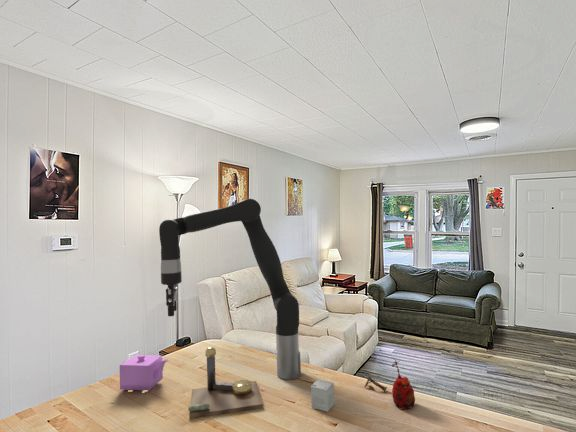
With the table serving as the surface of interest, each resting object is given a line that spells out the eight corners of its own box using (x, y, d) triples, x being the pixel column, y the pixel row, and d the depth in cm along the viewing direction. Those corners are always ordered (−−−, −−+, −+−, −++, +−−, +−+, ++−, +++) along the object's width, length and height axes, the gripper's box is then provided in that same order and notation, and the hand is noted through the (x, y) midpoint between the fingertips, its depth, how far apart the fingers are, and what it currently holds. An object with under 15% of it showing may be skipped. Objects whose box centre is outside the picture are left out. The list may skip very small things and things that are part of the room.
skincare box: (335, 403, 119) (334, 382, 119) (327, 412, 113) (326, 389, 113) (318, 399, 122) (318, 378, 122) (311, 408, 116) (310, 385, 117)
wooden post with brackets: (363, 384, 131) (367, 373, 130) (383, 396, 127) (387, 386, 126) (361, 386, 129) (366, 375, 128) (381, 398, 125) (386, 388, 125)
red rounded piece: (406, 413, 111) (404, 366, 112) (387, 405, 117) (386, 360, 117) (419, 404, 116) (417, 359, 116) (400, 397, 121) (398, 354, 122)
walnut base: (256, 384, 135) (255, 376, 135) (263, 408, 117) (262, 398, 117) (191, 393, 129) (190, 384, 129) (188, 419, 112) (187, 409, 112)
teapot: (114, 393, 131) (113, 360, 132) (129, 381, 141) (129, 350, 142) (163, 395, 129) (162, 361, 129) (175, 382, 139) (175, 351, 139)
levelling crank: (254, 387, 129) (253, 345, 129) (248, 396, 122) (246, 352, 123) (210, 383, 133) (209, 343, 133) (202, 392, 126) (201, 350, 126)
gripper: (179, 272, 128) (181, 317, 127) (182, 268, 141) (184, 308, 141) (158, 274, 126) (159, 319, 125) (163, 269, 140) (164, 310, 139)
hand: (172, 313), depth 133 cm, fingers open, 8 cm apart
